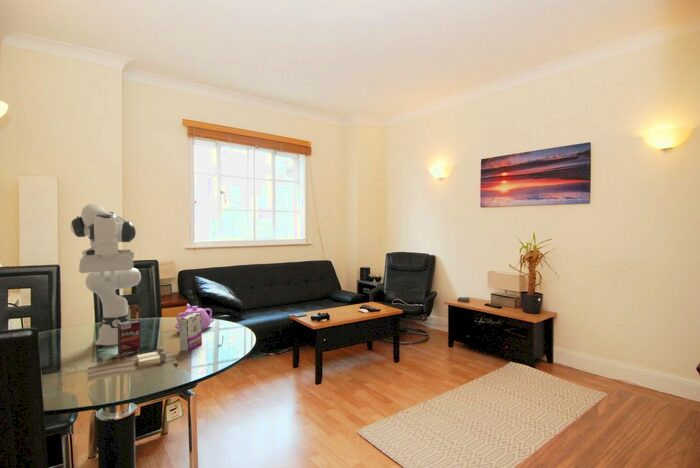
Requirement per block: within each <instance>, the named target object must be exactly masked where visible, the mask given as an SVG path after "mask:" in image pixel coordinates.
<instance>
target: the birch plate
mask: <svg viewBox="0 0 700 468" xmlns="http://www.w3.org/2000/svg"><path fill="white" fill-rule="evenodd" d="M136 358H137V361H138V365H139V368H140V367H145V366H150V365H154V364H159V363H161V360H160V356H159V354H158V352H157V351H151V352H146V353H145V352H144V353H142V354H136Z"/></svg>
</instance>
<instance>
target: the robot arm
mask: <svg viewBox="0 0 700 468" xmlns="http://www.w3.org/2000/svg"><path fill="white" fill-rule="evenodd" d="M80 215H81V216H79V215H78V216H76V217H75V218H74V219H73V220H72V221H71V223H70V230H71V232H72V234H74V235H75V236H76V237H77V238H84V237H88V239H89V241H90V242H89V244H90V248H88V249H85V250H84V249H83V250H82V252H81V254H82V257H81V258H80V260H79V267H78V272H79V273H81V274H87V273H88V274H87V276H86V278H85V281H84V282H85V286H86V288H87V290H89V291H90V292H93V293H95V295H97V297H98V298H99V299H100V301H101V305H102V319H101V321H102V322H101V323H102V325H101V326H100V328H98V339H97V340H96V341H95V342H94V345H95V346H116V345H118V323H123V322H129V320H130V315H129V312H128V310H129V309H128V299H126V297H124V296H123V295H122V296H121V295H118V294H117V293H116V290H121V289H127V288H128V289H129V288H132V287H135V286H138V285H139V283H141V280H142V274H141V272H140V271H139V269H138V268H135V266H134V257H135V254H134V253H135V252H134V251H133V250H131V249H119V243H130V242H132V241H133V240H134V239H135V238H136V232H137V231H136V228H135V225H134V223H132V222H131V221H126V220H125V219H124V218H122V217H121V216H118V215H117V214H116V213H115V212H114V211H108V210H106V209H105V208H103V206H101V205H99V204H96V203H89V204H86V205H85V206H84V207H83V208H82V210H81V213H80Z"/></svg>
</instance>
